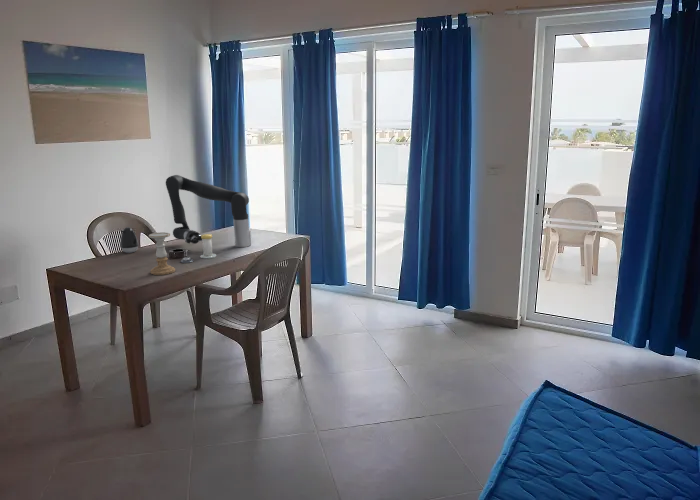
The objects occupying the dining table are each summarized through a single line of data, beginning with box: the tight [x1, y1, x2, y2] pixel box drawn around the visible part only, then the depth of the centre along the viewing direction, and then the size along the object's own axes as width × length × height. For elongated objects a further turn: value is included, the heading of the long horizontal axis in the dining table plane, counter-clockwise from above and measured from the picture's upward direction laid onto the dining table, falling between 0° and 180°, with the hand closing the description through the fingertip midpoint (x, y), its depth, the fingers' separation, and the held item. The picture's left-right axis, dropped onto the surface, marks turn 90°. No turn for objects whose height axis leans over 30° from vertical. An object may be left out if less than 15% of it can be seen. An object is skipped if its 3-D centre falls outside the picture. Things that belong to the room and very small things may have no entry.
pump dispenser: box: [119, 227, 139, 254], centre depth 320 cm, size 10×10×15 cm
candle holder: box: [148, 232, 176, 276], centre depth 275 cm, size 12×12×20 cm
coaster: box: [200, 253, 217, 259], centre depth 309 cm, size 9×9×1 cm
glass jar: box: [200, 233, 214, 256], centre depth 307 cm, size 6×6×12 cm
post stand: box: [180, 256, 194, 264], centre depth 298 cm, size 7×7×2 cm
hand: (202, 240), depth 312 cm, fingers open, 8 cm apart
